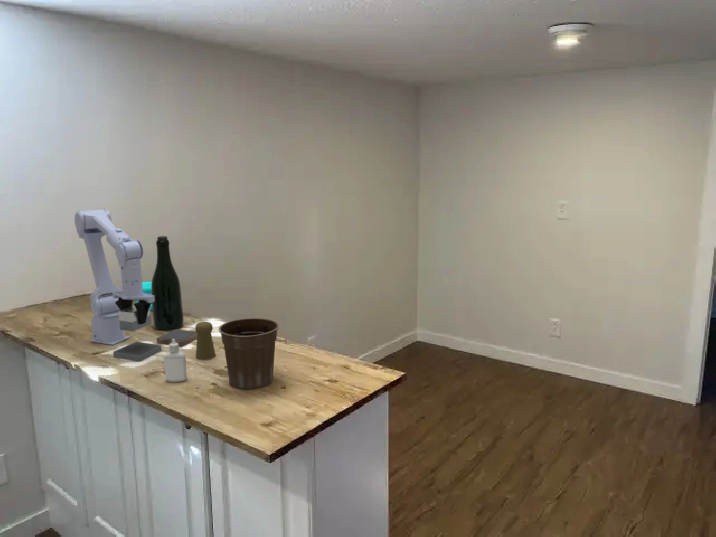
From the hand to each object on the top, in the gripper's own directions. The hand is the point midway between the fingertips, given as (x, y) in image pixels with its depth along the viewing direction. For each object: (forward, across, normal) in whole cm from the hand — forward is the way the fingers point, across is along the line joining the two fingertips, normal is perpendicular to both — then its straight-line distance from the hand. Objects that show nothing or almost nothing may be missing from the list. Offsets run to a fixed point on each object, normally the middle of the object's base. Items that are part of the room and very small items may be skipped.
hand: (135, 322), depth 176 cm
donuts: (+11, -32, +42) cm, 53 cm away
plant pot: (+11, +44, -5) cm, 46 cm away
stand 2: (+10, +4, +15) cm, 19 cm away
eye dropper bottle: (+11, +24, -12) cm, 29 cm away
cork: (+11, +21, +6) cm, 24 cm away
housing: (+1, 0, 0) cm, 1 cm away
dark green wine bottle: (+11, -9, +26) cm, 29 cm away
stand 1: (+10, 0, 0) cm, 10 cm away
